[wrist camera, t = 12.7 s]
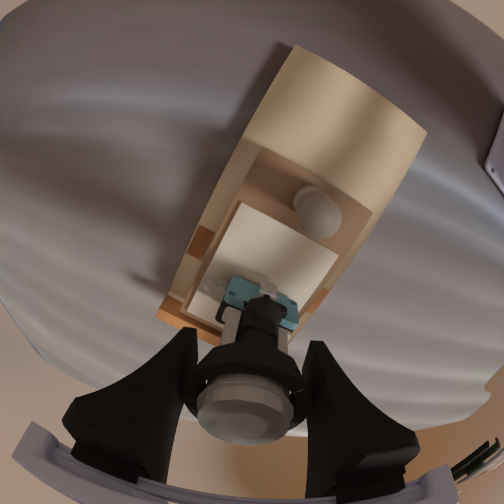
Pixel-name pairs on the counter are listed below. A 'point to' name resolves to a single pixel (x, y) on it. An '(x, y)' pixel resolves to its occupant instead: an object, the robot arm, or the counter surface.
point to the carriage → (279, 235)
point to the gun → (474, 460)
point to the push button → (248, 367)
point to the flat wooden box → (309, 160)
